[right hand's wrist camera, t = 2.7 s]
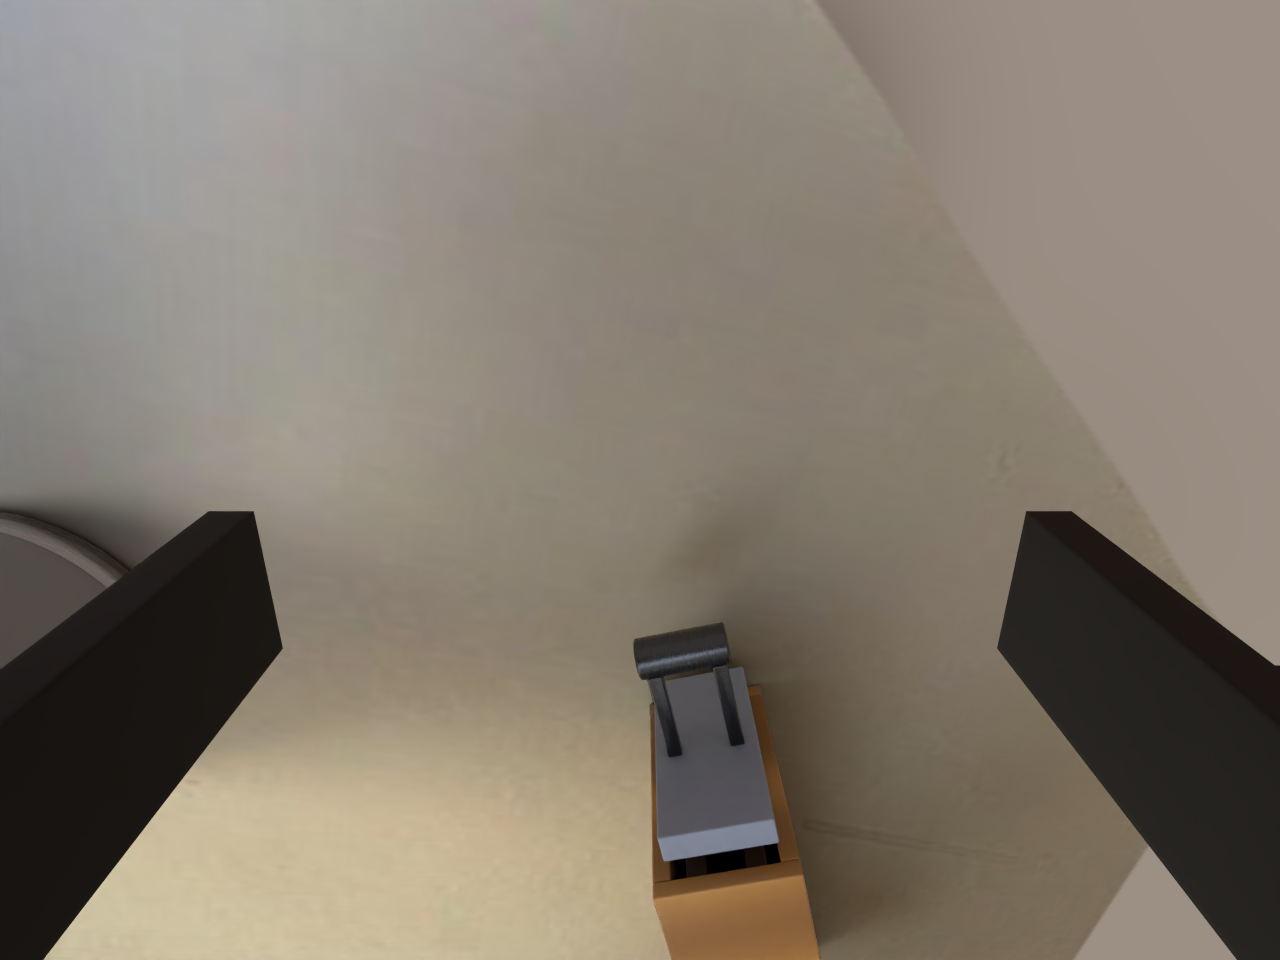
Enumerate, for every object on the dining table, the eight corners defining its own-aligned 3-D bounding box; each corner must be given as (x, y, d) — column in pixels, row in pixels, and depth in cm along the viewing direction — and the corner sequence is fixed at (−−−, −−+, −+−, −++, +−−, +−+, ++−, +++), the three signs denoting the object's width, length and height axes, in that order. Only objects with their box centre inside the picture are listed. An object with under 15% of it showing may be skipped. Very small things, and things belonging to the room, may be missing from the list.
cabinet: (649, 704, 37) (652, 899, 27) (759, 684, 36) (804, 874, 26) (721, 964, 44) (744, 1196, 34) (814, 950, 43) (866, 1181, 33)
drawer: (626, 581, 33) (620, 717, 25) (721, 563, 33) (747, 693, 24) (723, 943, 42) (744, 1135, 33) (799, 931, 42) (839, 1122, 33)
